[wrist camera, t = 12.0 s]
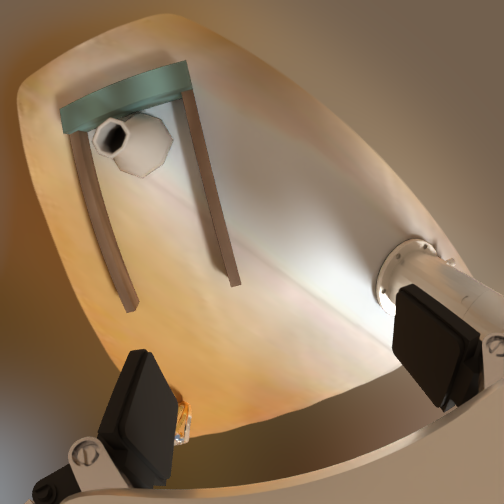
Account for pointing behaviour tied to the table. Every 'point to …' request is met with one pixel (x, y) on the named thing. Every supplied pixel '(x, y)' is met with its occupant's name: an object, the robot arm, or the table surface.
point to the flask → (134, 143)
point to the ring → (186, 414)
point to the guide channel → (117, 106)
